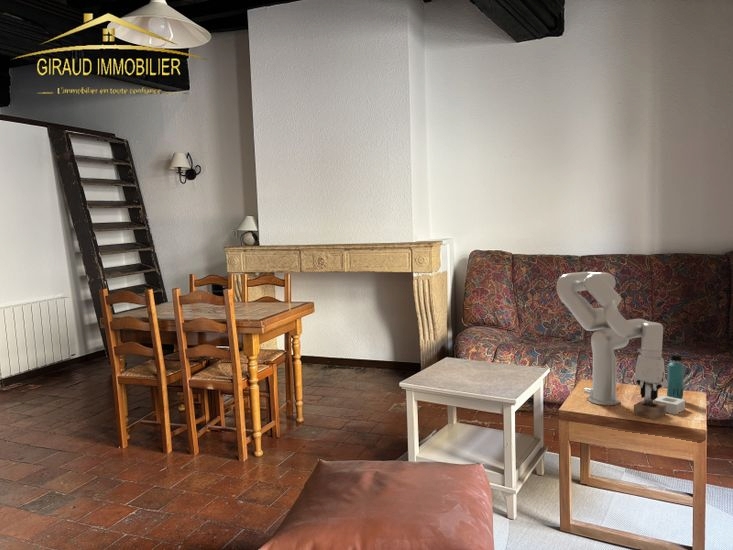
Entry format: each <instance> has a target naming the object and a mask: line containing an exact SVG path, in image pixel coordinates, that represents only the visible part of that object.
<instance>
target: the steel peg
mask: <svg viewBox="0 0 733 550" xmlns="http://www.w3.org/2000/svg"><path fill="white" fill-rule="evenodd" d="M652 390H653V383H649V382H645V391H644V398H643V400H644V406H649V407H653V402H654V400H652V399H651V398H652Z"/></svg>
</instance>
